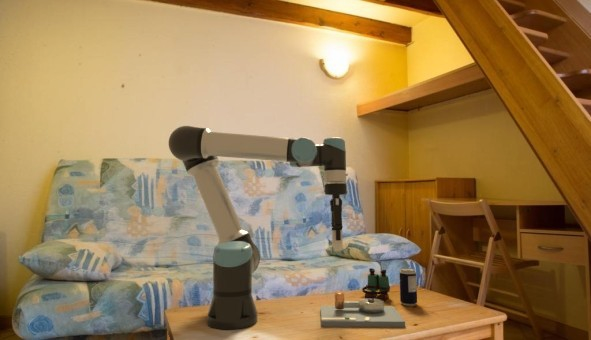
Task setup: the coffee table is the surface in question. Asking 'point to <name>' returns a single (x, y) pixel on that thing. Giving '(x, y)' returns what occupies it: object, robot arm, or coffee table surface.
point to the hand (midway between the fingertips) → (337, 248)
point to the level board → (360, 317)
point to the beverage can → (408, 287)
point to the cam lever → (359, 304)
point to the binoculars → (377, 285)
